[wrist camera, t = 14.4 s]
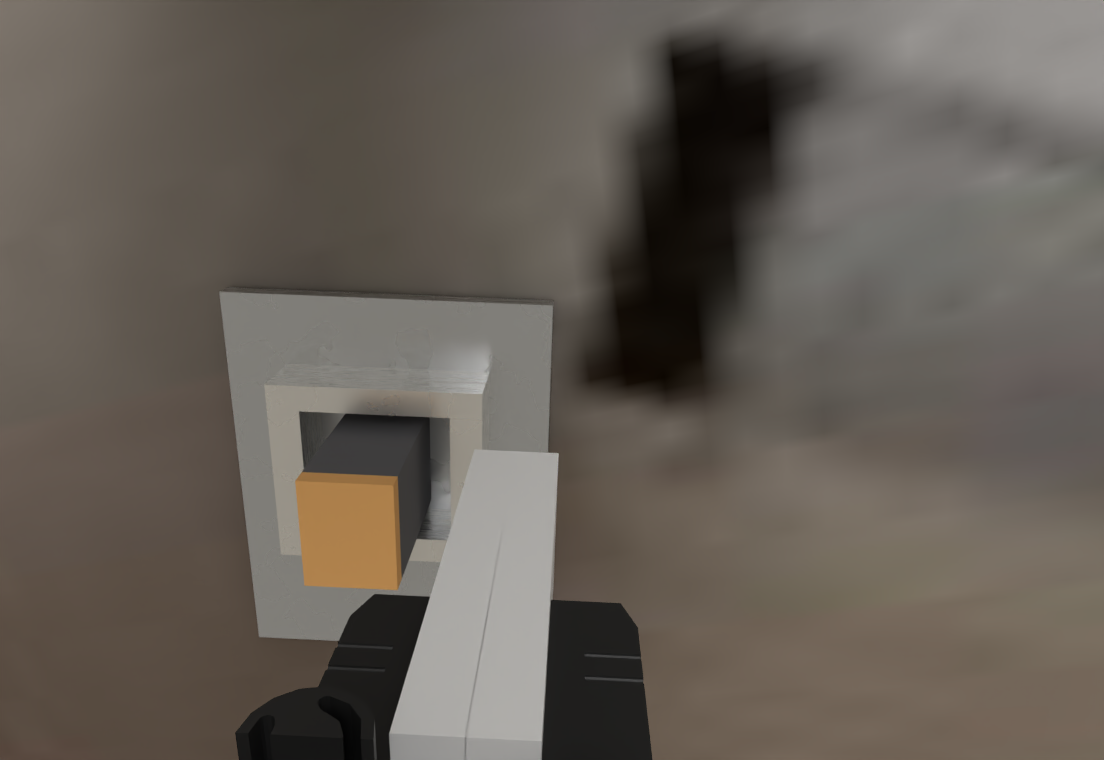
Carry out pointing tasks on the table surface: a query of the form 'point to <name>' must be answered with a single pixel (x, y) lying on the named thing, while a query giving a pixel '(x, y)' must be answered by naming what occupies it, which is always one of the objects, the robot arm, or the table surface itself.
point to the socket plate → (376, 389)
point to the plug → (364, 501)
